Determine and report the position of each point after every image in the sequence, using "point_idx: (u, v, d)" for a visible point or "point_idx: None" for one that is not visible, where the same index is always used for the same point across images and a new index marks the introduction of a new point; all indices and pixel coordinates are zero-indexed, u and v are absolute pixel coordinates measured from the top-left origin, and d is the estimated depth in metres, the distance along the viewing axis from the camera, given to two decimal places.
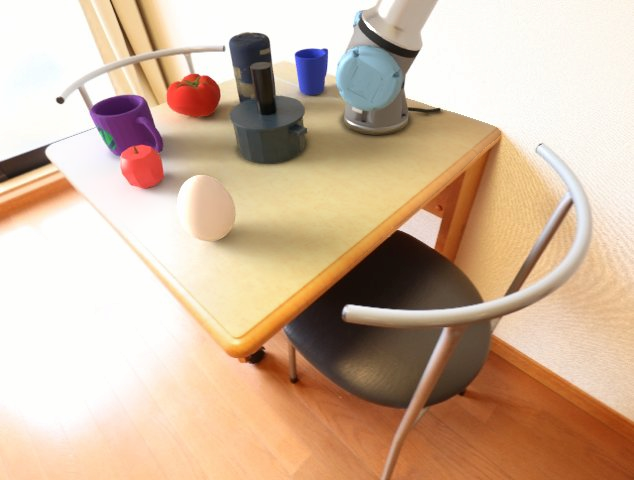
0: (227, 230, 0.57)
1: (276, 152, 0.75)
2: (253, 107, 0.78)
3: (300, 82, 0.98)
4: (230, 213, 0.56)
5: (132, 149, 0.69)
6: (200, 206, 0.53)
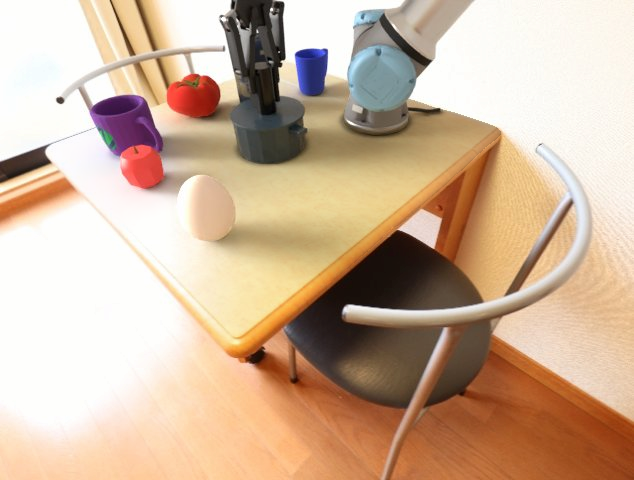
0: (227, 230, 0.57)
1: (276, 152, 0.75)
2: None
3: (300, 82, 0.98)
4: (230, 213, 0.56)
5: (132, 149, 0.69)
6: (200, 206, 0.53)
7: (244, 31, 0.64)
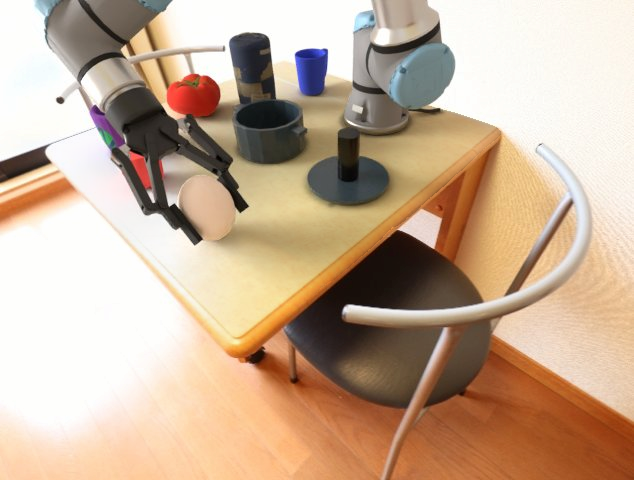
0: (227, 230, 0.57)
1: (276, 152, 0.75)
2: (331, 171, 0.72)
3: (300, 82, 0.98)
4: (230, 213, 0.56)
5: None
6: (200, 206, 0.53)
7: (147, 163, 0.53)
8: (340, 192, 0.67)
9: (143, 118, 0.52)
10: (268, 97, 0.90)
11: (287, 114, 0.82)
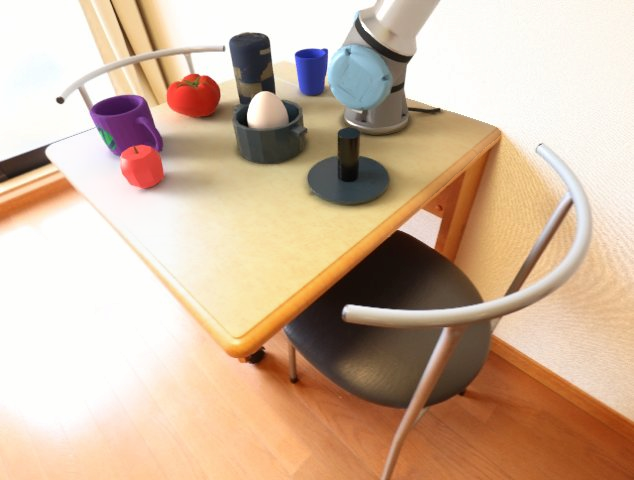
0: None
1: (276, 152, 0.75)
2: (331, 171, 0.72)
3: (300, 82, 0.98)
4: (286, 121, 0.76)
5: (132, 149, 0.69)
6: (267, 111, 0.73)
7: None
8: (340, 192, 0.67)
9: None
10: None
11: None
